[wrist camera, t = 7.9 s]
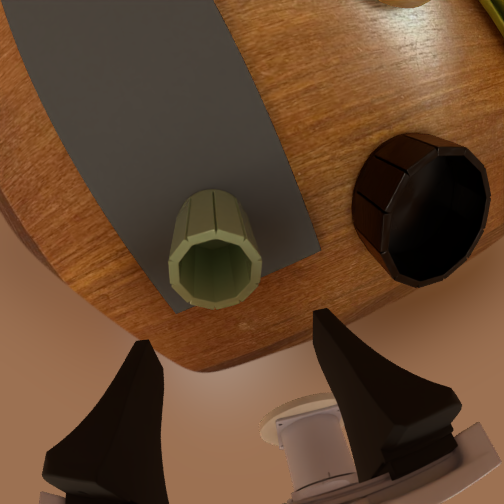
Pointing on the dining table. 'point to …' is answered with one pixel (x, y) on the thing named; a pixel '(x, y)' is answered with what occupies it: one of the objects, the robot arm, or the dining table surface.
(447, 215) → the large pot
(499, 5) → the flower pot
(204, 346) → the dining table surface
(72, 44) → the mat
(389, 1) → the fruit
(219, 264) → the small pot
